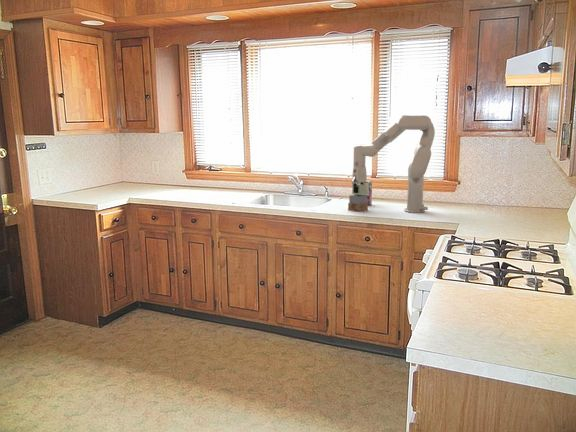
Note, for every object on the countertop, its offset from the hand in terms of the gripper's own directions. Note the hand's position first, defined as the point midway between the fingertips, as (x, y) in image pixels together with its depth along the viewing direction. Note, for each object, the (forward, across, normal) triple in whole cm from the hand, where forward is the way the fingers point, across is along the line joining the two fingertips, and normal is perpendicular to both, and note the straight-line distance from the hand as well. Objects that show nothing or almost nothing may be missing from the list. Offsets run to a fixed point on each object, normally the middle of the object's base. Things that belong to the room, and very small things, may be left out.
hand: (358, 191), depth 327 cm
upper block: (+7, -1, 0) cm, 7 cm away
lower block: (+12, -1, 0) cm, 12 cm away
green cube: (+1, 0, 0) cm, 1 cm away
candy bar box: (+12, +19, +9) cm, 24 cm away
